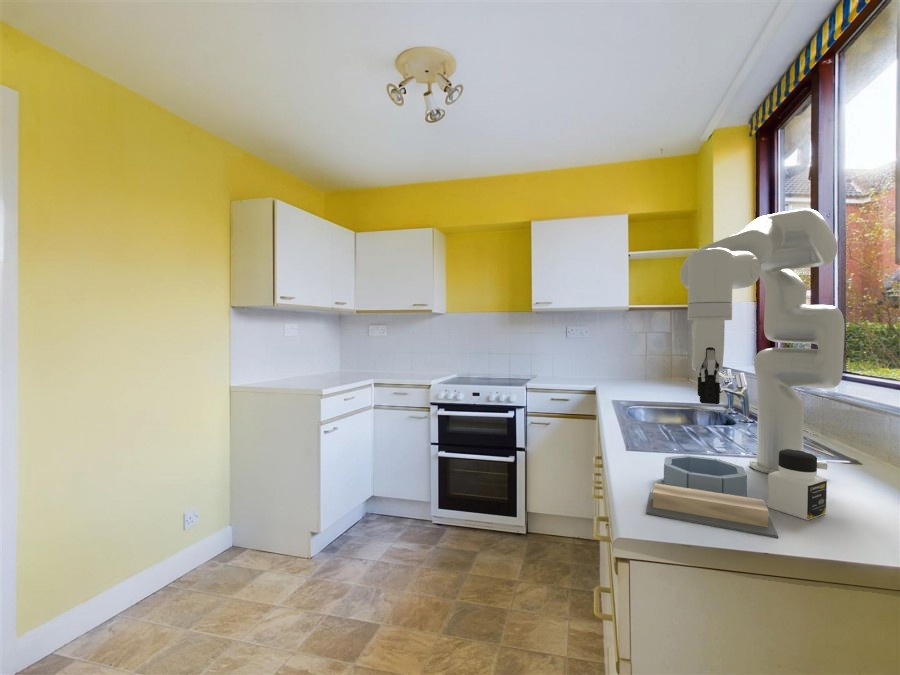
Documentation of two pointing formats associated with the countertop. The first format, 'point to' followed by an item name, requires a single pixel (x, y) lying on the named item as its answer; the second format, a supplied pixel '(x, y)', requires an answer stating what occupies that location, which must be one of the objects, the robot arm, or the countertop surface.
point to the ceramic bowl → (705, 475)
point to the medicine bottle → (797, 485)
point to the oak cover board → (711, 504)
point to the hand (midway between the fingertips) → (707, 399)
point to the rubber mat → (711, 520)
